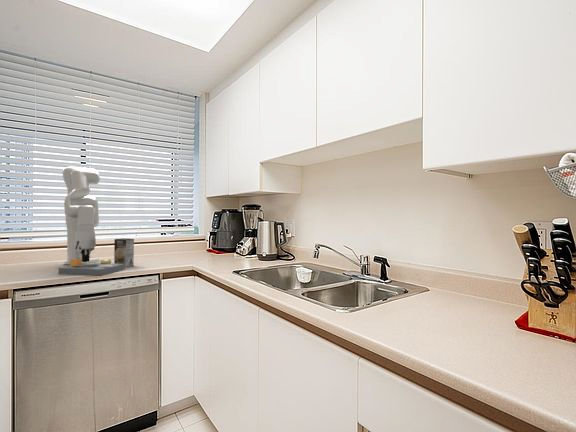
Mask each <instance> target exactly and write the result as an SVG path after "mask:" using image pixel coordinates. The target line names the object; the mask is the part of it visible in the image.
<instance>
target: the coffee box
mask: <svg viewBox="0 0 576 432" xmlns="http://www.w3.org/2000/svg"><path fill="white" fill-rule="evenodd" d="M134 252H135V238H124V237H123V238H114V253H113V255H114V257H113V258H114V260H113V261H114V263H113V264H125V268H127V266H128V267H132V266H131V265H133V266H134V261H135V259H134V258H135V256H134V255H135V253H134Z"/></svg>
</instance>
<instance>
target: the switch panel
mask: <svg viewBox="0 0 576 432" xmlns="http://www.w3.org/2000/svg"><path fill="white" fill-rule="evenodd" d="M123 269H125V270H126V267H125V264H114V263H110V264H101V262H96V263H91V264H85V263H83V264H82V265H81V266H70V265H69V266H68V265H67V266H63V267H58V274H59V275H74V274H77V275H79V276H81V275H82V276H103V275H107V274H112V273H115V272H119V271H120V270H121V271H124V270H123ZM77 275H76V276H77Z"/></svg>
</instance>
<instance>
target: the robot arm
mask: <svg viewBox="0 0 576 432" xmlns="http://www.w3.org/2000/svg"><path fill="white" fill-rule="evenodd" d="M62 177H63V181H64V184H65V187H66V189H67V194H66V197H65V199H64V202H63V203H64V204H63V207H64V216H65V224H66V225H65V226H66V235H67V236H66V239H67V241H66V242H67V243H66V245H67V247H66V248H67V249H66V253H67V255H66V261H64V262H63V264H64V265H70V259H82V264H83V263H85V262H87V261H90V259H91V258H92V255H91V252H93V251H95V248H96V245H97V243H96V239H97V238H96V233H95V228H97V227H98V226H99V223H100V222H99V221H100V220H99V219H100V218H99V217H100V216H99V213H100V212H99V202H98V199H97V197H96V196H92V195H91V196H89V195H90V193H91V191H90V190H91V189H90V185H98V184H99V183H100V182H101V181H100V180H101V178H100V174H99V172H98V170H96V169H95V168H88V167H81V166H79V167H78V166H66V167H64V168H63V169H62Z"/></svg>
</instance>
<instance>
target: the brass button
mask: <svg viewBox="0 0 576 432" xmlns="http://www.w3.org/2000/svg"><path fill="white" fill-rule="evenodd" d="M100 263H101V264H112V259H111V258H110V259H107V258H106V259H100Z"/></svg>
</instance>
